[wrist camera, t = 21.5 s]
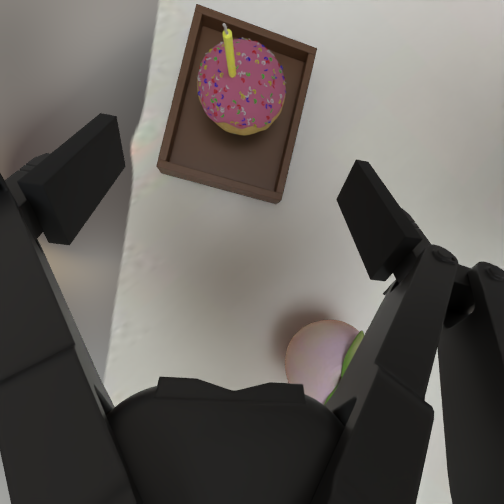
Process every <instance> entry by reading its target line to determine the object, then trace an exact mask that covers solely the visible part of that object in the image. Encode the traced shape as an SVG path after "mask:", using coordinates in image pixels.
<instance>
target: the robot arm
mask: <svg viewBox="0 0 504 504" xmlns="http://www.w3.org/2000/svg"><path fill="white" fill-rule="evenodd" d="M124 167H125V161H124V156H123V150H122V145H121V139H120V133H119V128H118V122H117V117H116V116H112V115H107V114H101V113H100V114H99V115H98V116H97V117H95V118H94V119H93V120H92V121H90V122H89V123H88V124H87V125H85V126H84V127H83V128H82V129H81V130H79V131H78V132H77V133H76V134H74V135H73V136H72V137H71V138H70V139H68V140H67V141H66V142H65V143H63V144H62V145H61V146H60V147H59V148H58V149H56V150H55V151H54V152H52V153H51V154H49V153H46V154H43V155H40V156H38V157H35V158H33V159H32V160H31V161H29V162H28V163H27V164H26V165H24V166H23V167H22V168H20V171H16V172H15V173H14V174H13V175H11V176H10V177H9V178H7V179H6V180H5V181H4V179H3V177H2V175H1V174H0V452H1V457H2V462H3V466H4V471H5V476H6V481H7V486H8V490H9V495H10V500H11V504H416V500H417V495H418V491H419V486H420V481H421V477H422V472H423V467H424V463H425V458H426V453H427V449H428V444H429V439H430V435H431V430H432V425H433V420H434V410H433V408H432V406H431V405H429V404H428V403H427V402H425V394H426V390H427V386H428V382H429V378H430V374H431V370H432V366H433V362H434V358H435V354H436V350H437V347H438V359H439V372H440V384H441V396H442V408H443V421H444V433H445V445H446V458H447V470H448V478H449V486H450V493H451V498H452V503H453V504H504V271H503V270H502V269H500V268H499V267H497V266H494V265H492V264H490V263H487V262H479V263H477V264H476V265H475V266H474V267H472V268H468V267H465V266H462V265H459V264H458V260H457V259H456V257H455V256H454V255H453V254H452V253H451V252H449V251H448V250H446V249H445V248H442V247H440V246H437V245H431V243H430V242H429V241H428V239H427V238H426V236H425V235H424V234H423V232H422V231H421V230H420V229H419V227H418V225H417V224H416V223H415V221H414V220H413V219H412V217H411V216H410V215H409V214H408V213H407V212H406V211H405V210H403V209H402V208H401V207H400V206H399V205H398V203H397V202H396V200H395V199H394V198H393V196H392V195H391V193H390V192H389V190H388V189H387V188H386V186H385V185H384V183H383V182H382V181H381V179H380V178H379V176H378V175H377V174H376V172H375V171H374V169H373V168H372V166H371V165H370V164H369V162H366V161H361V160H356V161H355V163H354V165H353V167H352V169H351V171H350V173H349V175H348V177H347V179H346V181H345V183H344V185H343V187H342V189H341V191H340V193H339V195H338V197H337V199H336V200H337V202H338V204H339V207H340V209H341V211H342V214H343V216H344V218H345V221H346V223H347V226H348V228H349V230H350V233H351V235H352V237H353V240H354V242H355V244H356V247H357V249H358V251H359V254H360V256H361V258H362V261H363V263H364V266H365V268H366V270H367V273H368V275H369V277H370V280H379V281H386V280H387V279H388V278H389V276H390V275H391V274H392V273H393V274H394V276H395V278H396V280H395V281H394V282H393V283H392V284H391V285H390V286H389V288H388V289H387V290H386V291H385V292H384V293H383V294H384V295H386V296H385V298H384V299H383V301H382V303H381V305H380V307H379V309H378V311H377V313H376V314H375V316H374V318H373V320H372V322H371V324H370V326H369V328H368V330H367V331H366V333H365V335H364V337H363V339H362V341H361V343H360V345H359V347H358V348H357V350H356V352H355V354H354V356H353V358H352V360H351V362H350V363H349V365H348V367H347V369H346V371H345V373H344V375H343V377H342V379H341V380H340V382H339V384H338V386H337V388H336V390H335V392H334V393H333V395H332V396H331V398H330V399H329V400H328V401H327V402H326V404H325V405H323V404H322V403H320V402H319V401H317V400H316V399H314V398H312V397H310V396H308V395H306V394H304V386H303V384H290V383H271V382H270V383H266V384H262V385H258V386H254V387H250V388H245V389H241V390H237V391H231V390H228V389H225V388H222V387H220V386H217V385H214V384H211V383H208V382H205V381H202V380H199V379H194V378H175V377H159V381H158V385H157V386H155V387H151V388H148V389H146V390H143V391H140V392H138V393H136V394H134V395H132V396H130V397H129V398H127V399H126V400H124V401H122V402H121V403H120V404H118V405H117V406H116V407H114V405H113V403H112V401H111V399H110V397H109V395H108V393H107V391H106V389H105V387H104V385H103V383H102V381H101V379H100V377H99V375H98V373H97V370H96V368H95V366H94V364H93V361H92V359H91V357H90V355H89V352H88V350H87V348H86V346H85V343H84V341H83V339H82V337H81V335H80V332H79V330H78V328H77V326H76V323H75V321H74V319H73V317H72V314H71V312H70V310H69V308H68V306H67V303H66V301H65V299H64V296H63V294H62V292H61V290H60V288H59V285H58V283H57V281H56V279H55V277H54V274H53V272H52V270H51V267H50V265H49V263H48V261H47V258H46V256H45V254H44V252H43V250H42V247H41V245H40V243H39V242H38V240H37V238H38V237H39V236H40V235H41V233H42V232H44V234H45V236H46V238H47V240H48V242H49V243H56V244H64V245H70V244H71V242H72V241H73V240H74V238H75V237H76V235H77V234H78V232H79V231H80V230H81V228H82V227H83V226H84V224H85V223H86V221H87V220H88V219H89V217H90V216H91V214H92V213H93V211H94V210H95V209H96V207H97V206H98V204H99V203H100V201H101V200H102V199H103V197H104V196H105V195H106V193H107V192H108V190H109V189H110V187H111V186H112V185H113V183H114V182H115V180H116V179H117V177H118V176H119V175H120V173H121V172H122V171H123V169H124Z"/></svg>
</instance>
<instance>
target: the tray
mask: <svg viewBox="0 0 504 504" xmlns="http://www.w3.org/2000/svg"><path fill="white" fill-rule="evenodd" d="M223 23H225V24H226V26H227V29H230V30H231V32H232V38H233V40H234V39H239V38H242V37H243V38H244V39H248V40H249V39H251V40H252V41H257V42H259V43H260V44H261V45H264V46H265V47H266V48H267V49H268V50H270V52H271V53H272V54H274V56H275V58H276V59H277V61H278V63H279V65H280V66H282V67H283V69H282V67H281V69H282V72H283V75H284V77H285V82H286V83H285V86H286V92H285V100H284V104H283V107H282V111H281V113H280V115H279V116H278V117H277V119H276V120H275V121H274V122H273V123H272V124H271V125H270V127H269V128H267V129H266V130H263V131H259V132H257V133H254V134H250V135H245V136H244V135H238V134H233V133H229V132H226V131H225V130H223V129H222V128H221V127H220V126H218V125H217V124H216V123H215V122H214V121H213V120H211V119H210V118H209V117H208V116H207V114H206V113H205V111H204V109H203V106H202V104H201V102H200V100H199V97H198V90H197V78H198V72H199V68H200V64H201V62H202V60H203V58H204V57H205V56H206V54H205V53H208V52H209V50H210V49H212V48H213V47H215V46H216V45H218V44H220V42H224V40H223V31H224V27H223ZM316 51H317V48H314V47H312V46H309V45H306V44H304V43H301V42H298V41H295V40H293V39H290V38H287V37H285V36H282V35H279V34H277V33H274V32H271V31H268V30H266V29H263V28H260V27H258V26H255V25H252V24H249V23H247V22H244V21H241V20H239V19H236V18H233V17H231V16H228V15H225V14H222V13H220V12H217V11H214V10H212V9H209V8H206V7H203V6H201V5H198V4H196V8H195V12H194V16H193V20H192V24H191V28H190V32H189V36H188V40H187V44H186V49H185V53H184V57H183V61H182V65H181V69H180V73H179V77H178V81H177V85H176V89H175V93H174V97H173V101H172V105H171V109H170V113H169V117H168V121H167V125H166V129H165V133H164V137H163V142H162V146H161V150H160V154H159V158H158V162H157V168H158V169H159V170H160V172H161V173H164V174H167V175H171V176H175V177H178V178H182V179H186V180H189V181H193V182H197V183H200V184H204V185H208V186H211V187H215V188H219V189H223V190H226V191H230V192H234V193H237V194H241V195H245V196H248V197H252V198H256V199H259V200H263V201H267V202H270V203H274V204H277V203H278V202H280V201H281V199H282V195H283V191H284V186H285V182H286V178H287V174H288V170H289V165H290V161H291V157H292V153H293V148H294V144H295V140H296V136H297V131H298V127H299V123H300V119H301V114H302V110H303V106H304V102H305V97H306V93H307V89H308V85H309V80H310V76H311V72H312V68H313V63H314V59H315V55H316Z"/></svg>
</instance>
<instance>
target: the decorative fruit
mask: <svg viewBox="0 0 504 504" xmlns="http://www.w3.org/2000/svg"><path fill="white" fill-rule="evenodd" d="M363 337H364V333H363V331H360V332H359V331H358V330H357V329H355V328H354V327H353V326H351V325H349V324H347V323H345V322H342V321H337V320H321V321H317V322H313V323H310V324H308V325H306V326H305V327H303V328H302V329H300V330H299V331H298V332H297V333H296V334H295V335H294V336H293V338H292V339H291V341H290V343H289V345H288V348H287V352H286V356H285V370H286V375H287V379H288V382H289V383H290V384H303V386H304V394H306V395H308V396H310V397H312V398H314V399H316V400H317V401H319V402H320V403H322V404H323V405H325V404H326V402H327V401H328V400H329V399H330V398H331V396H332V395H333V393H334V392H335V390H336V388H337V386H338V384H339V382H340V380H341V379H342V377H343V375H344V373H345V371H346V369H347V367H348V365H349V363H350V362H351V360H352V358H353V356H354V354H355V352H356V350H357V348H358V347H359V345H360V343H361V341H362V339H363Z"/></svg>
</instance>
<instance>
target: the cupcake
mask: <svg viewBox="0 0 504 504" xmlns="http://www.w3.org/2000/svg"><path fill="white" fill-rule="evenodd" d="M223 27H224V31H223V40H224V42H220V44H218V45H216V46H215V47H213V48H212V49H210V50H209V52H208V53H205V54H206V56H205V57H204V58H203V60H202V62H201V64H200V68H199V72H198V78H197V90H198V97H199V100H200V102H201V104H202V106H203V109H204V111H205V113H206V114H207V116H208V117H209V118H210V119H211V120H213V121H214V122H215V123H216V124H217V125H218V126H220V127H221V128H222V129H223V130H225V131H226V132H229V133H233V134H238V135H244V136H245V135H250V134H254V133H257V132H259V131H263V130H266V129H267V128H269V127H270V125H271V124H272V123H273V122H274V121H275V120H276V119H277V117H278V116H279V115H280V113H281V111H282V107H283V104H284V100H285V92H286V86H285V83H286V82H285V77H284V75H283V72H282V69H283V67H282V66H280V65H279V63H278V61H277V59H276V58H275V56H274V54H272V53H271V52H270V50H268V49H267V48H266V47H265V46H264V45H261V44H260V43H259V42H257V41H252V40H251V39H249V40H248V39H244V38H243V37H242V38H239V39H234V40H233V38H232V32H231V30H230V29H227V26H226V24H225V23H223ZM281 67H282V69H281Z"/></svg>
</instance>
